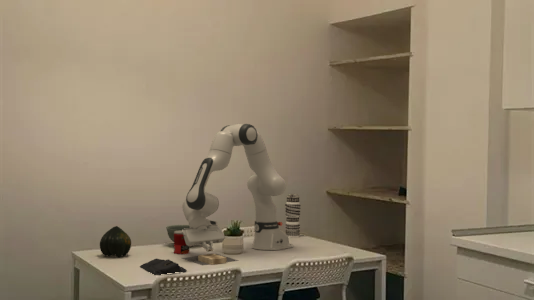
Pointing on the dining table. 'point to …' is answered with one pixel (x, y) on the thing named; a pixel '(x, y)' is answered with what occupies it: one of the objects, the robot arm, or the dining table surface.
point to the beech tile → (212, 259)
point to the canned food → (180, 243)
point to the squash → (115, 242)
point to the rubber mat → (195, 260)
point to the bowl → (175, 228)
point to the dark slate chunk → (162, 267)
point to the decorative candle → (292, 215)
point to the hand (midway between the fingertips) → (210, 250)
